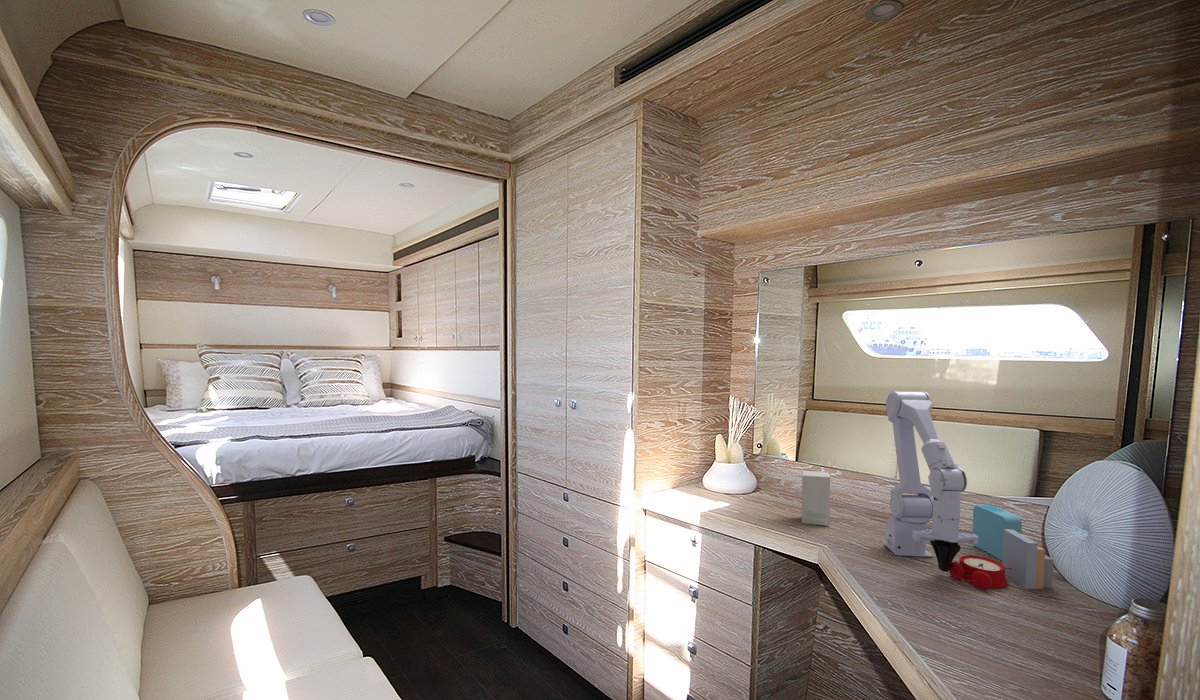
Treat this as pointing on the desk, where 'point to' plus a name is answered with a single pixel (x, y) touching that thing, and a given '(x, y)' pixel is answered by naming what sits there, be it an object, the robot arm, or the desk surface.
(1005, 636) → the desk surface
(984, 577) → the alarm clock
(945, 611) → the desk surface
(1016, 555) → the book row
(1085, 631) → the desk surface
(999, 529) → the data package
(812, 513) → the skincare box
